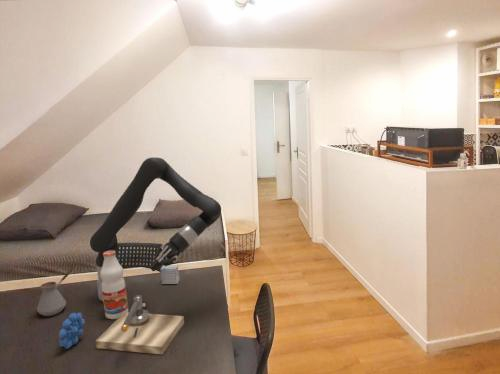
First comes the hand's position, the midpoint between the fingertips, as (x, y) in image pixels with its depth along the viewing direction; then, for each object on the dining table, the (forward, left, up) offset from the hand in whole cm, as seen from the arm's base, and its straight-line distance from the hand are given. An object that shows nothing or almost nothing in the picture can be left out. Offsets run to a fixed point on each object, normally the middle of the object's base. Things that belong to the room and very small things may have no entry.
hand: (151, 269), depth 140 cm
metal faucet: (-4, -10, -20) cm, 23 cm away
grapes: (-27, -16, -24) cm, 39 cm away
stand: (-3, -7, -24) cm, 25 cm away
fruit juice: (-22, +6, -24) cm, 33 cm away
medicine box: (-11, +37, -24) cm, 45 cm away
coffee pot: (-52, +9, -24) cm, 58 cm away
